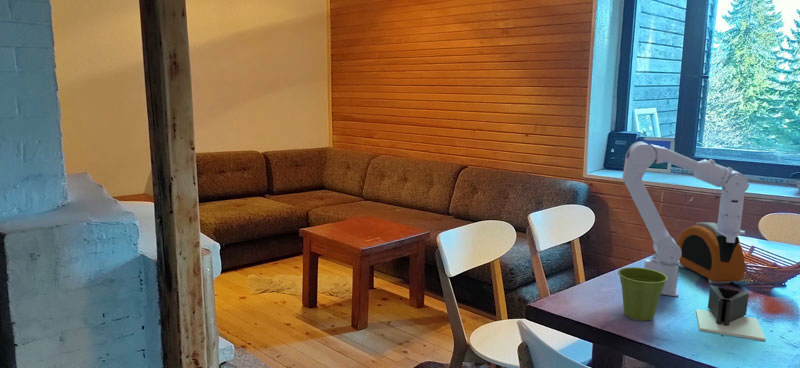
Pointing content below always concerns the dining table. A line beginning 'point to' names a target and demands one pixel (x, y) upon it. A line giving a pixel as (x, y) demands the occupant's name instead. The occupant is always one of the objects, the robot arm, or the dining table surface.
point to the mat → (730, 326)
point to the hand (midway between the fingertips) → (724, 261)
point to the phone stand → (727, 304)
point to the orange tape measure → (709, 254)
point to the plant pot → (641, 291)
